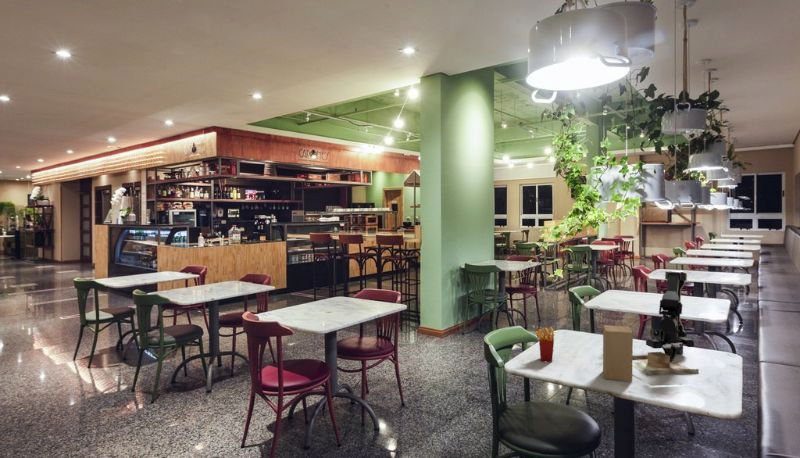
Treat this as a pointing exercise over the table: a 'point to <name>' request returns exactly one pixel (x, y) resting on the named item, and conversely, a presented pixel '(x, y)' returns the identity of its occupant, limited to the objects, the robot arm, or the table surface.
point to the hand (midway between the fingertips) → (669, 362)
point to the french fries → (546, 344)
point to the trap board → (674, 368)
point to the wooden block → (617, 353)
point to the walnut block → (658, 360)
